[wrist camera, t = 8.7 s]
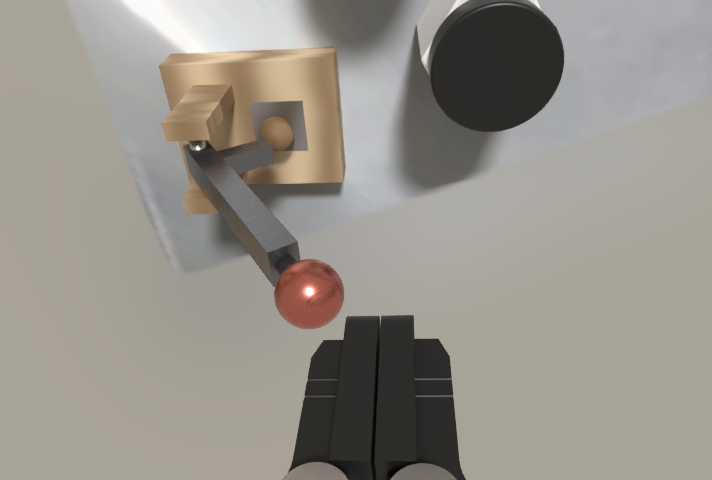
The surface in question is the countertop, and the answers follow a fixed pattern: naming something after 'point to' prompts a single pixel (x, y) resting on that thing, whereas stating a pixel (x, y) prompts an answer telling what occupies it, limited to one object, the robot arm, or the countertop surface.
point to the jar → (490, 60)
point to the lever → (265, 232)
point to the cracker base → (259, 112)
